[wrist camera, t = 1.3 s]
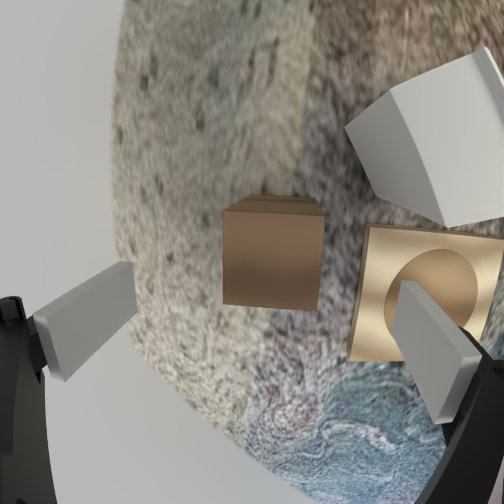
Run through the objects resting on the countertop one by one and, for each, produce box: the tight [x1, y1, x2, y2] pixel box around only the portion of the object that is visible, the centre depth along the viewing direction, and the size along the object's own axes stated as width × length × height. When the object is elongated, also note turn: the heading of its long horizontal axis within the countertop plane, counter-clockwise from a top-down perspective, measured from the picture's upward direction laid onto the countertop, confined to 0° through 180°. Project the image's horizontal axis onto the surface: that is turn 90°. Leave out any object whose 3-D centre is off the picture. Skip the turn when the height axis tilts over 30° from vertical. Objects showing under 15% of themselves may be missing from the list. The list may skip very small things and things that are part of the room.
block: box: [223, 195, 325, 311], centre depth 24 cm, size 6×6×11 cm
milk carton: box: [345, 47, 504, 228], centre depth 17 cm, size 7×7×19 cm
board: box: [347, 223, 504, 361], centre depth 28 cm, size 14×16×2 cm
